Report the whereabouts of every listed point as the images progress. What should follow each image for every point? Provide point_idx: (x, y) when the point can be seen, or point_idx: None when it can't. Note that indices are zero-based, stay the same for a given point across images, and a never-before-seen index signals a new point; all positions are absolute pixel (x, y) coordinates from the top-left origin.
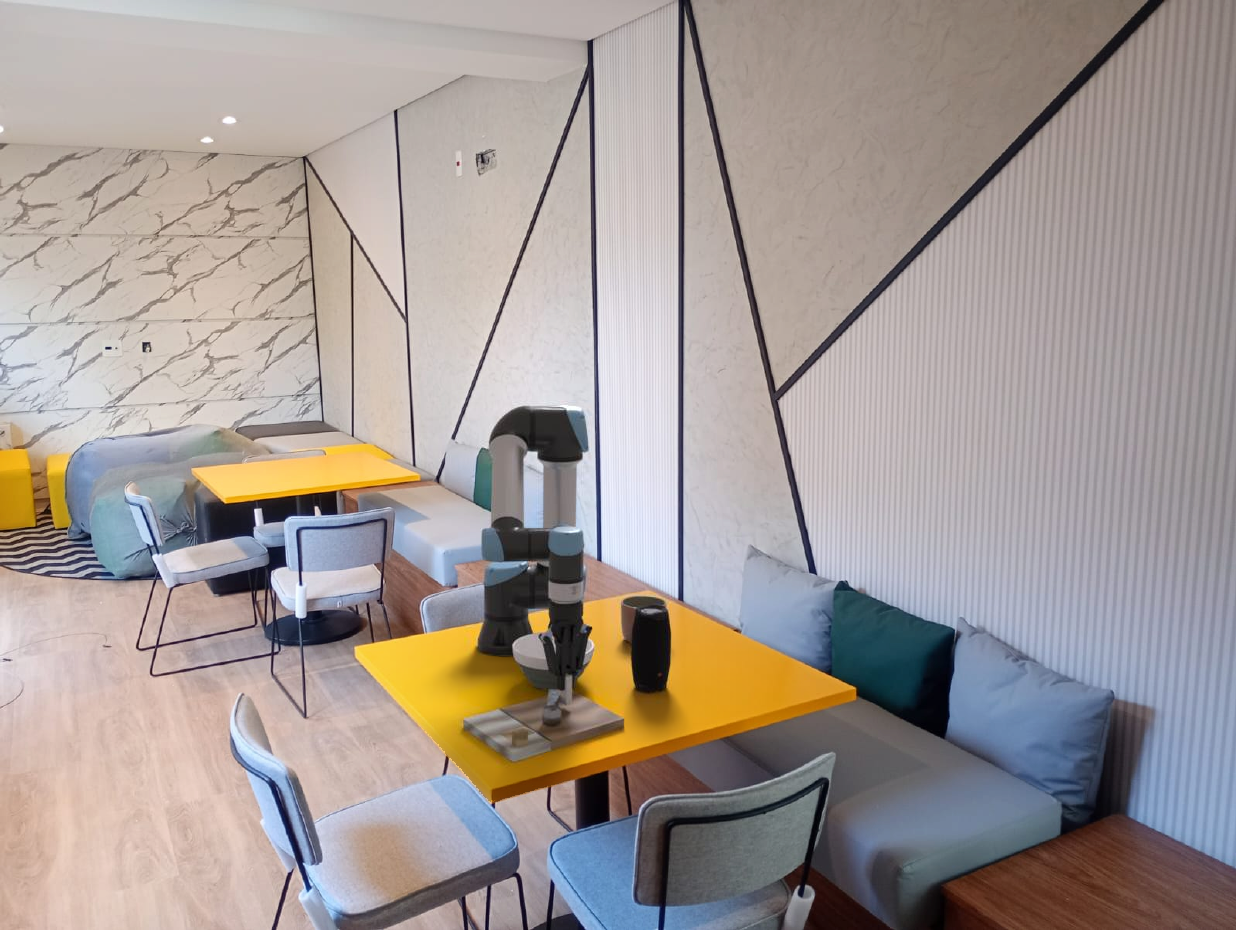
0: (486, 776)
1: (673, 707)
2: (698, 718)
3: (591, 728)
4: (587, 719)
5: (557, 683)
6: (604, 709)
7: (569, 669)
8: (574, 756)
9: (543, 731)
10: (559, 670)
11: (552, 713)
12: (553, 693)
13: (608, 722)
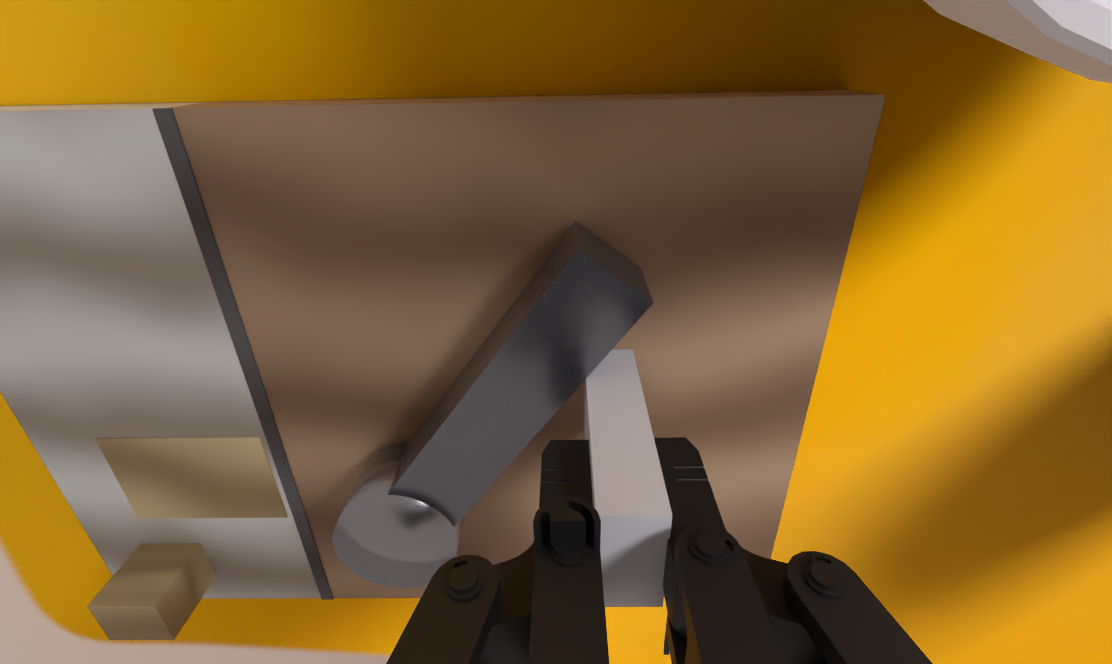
0: (31, 587)
1: (1104, 527)
2: (1044, 634)
3: None
4: None
5: (541, 487)
6: (772, 489)
7: (680, 621)
8: None
9: (335, 522)
10: (526, 659)
11: (373, 579)
12: (558, 341)
13: None
